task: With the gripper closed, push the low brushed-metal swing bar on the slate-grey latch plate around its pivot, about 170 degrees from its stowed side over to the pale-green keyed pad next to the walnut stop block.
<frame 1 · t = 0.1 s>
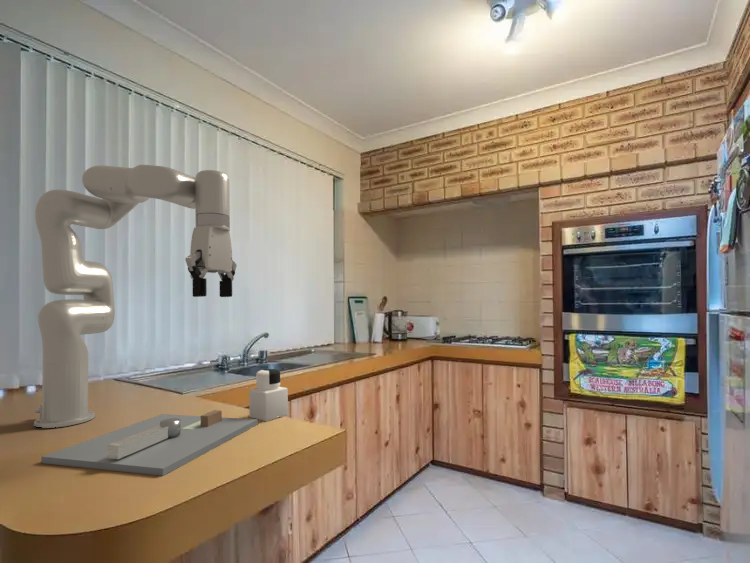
hand: (213, 296, 96), 31 cm above the countertop, tool pointing down, fingers open, 9 cm apart
latch plate: (162, 441, 88), on the countertop
swing bar: (148, 436, 82), point 3 cm above the countertop, hinge at 0.0°
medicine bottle: (268, 417, 106), on the countertop
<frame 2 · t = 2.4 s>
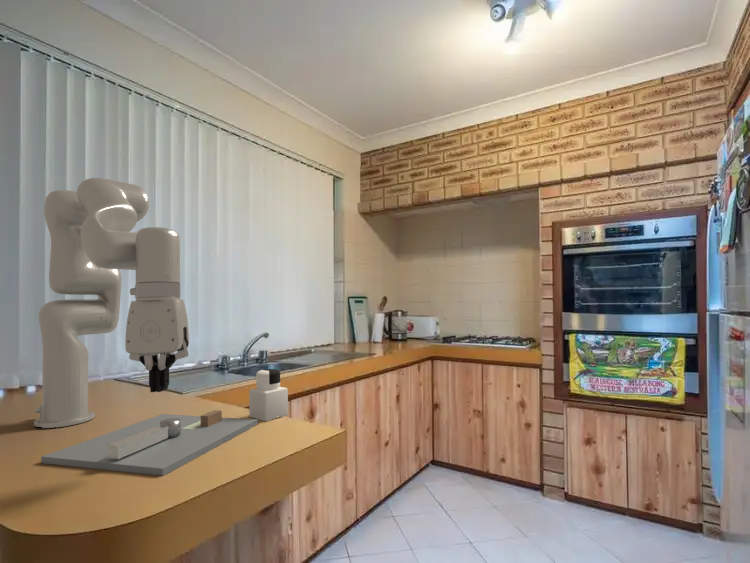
hand: (159, 390, 77), 13 cm above the countertop, tool pointing down, fingers closed
nothing on the countertop moved.
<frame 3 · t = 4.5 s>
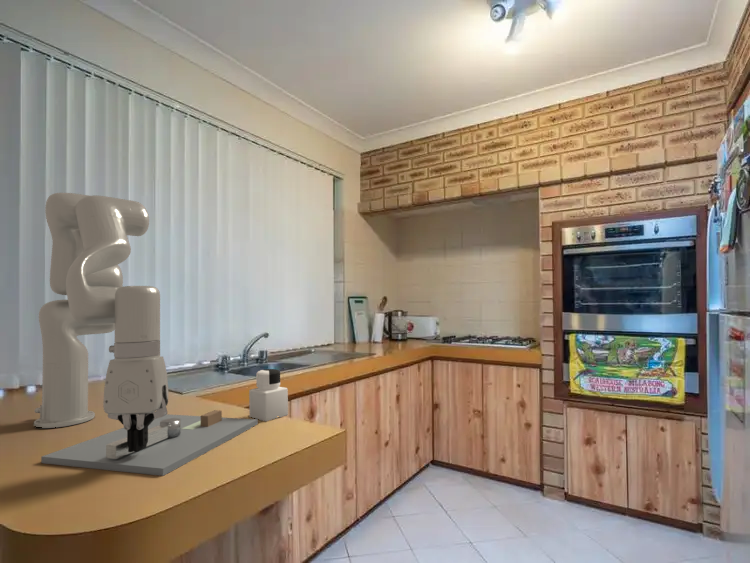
hand: (137, 449, 77), 2 cm above the countertop, tool pointing down, fingers closed
swing bar: (147, 436, 82), point 3 cm above the countertop, hinge at 2.0°, touching gripper
everything else where it was.
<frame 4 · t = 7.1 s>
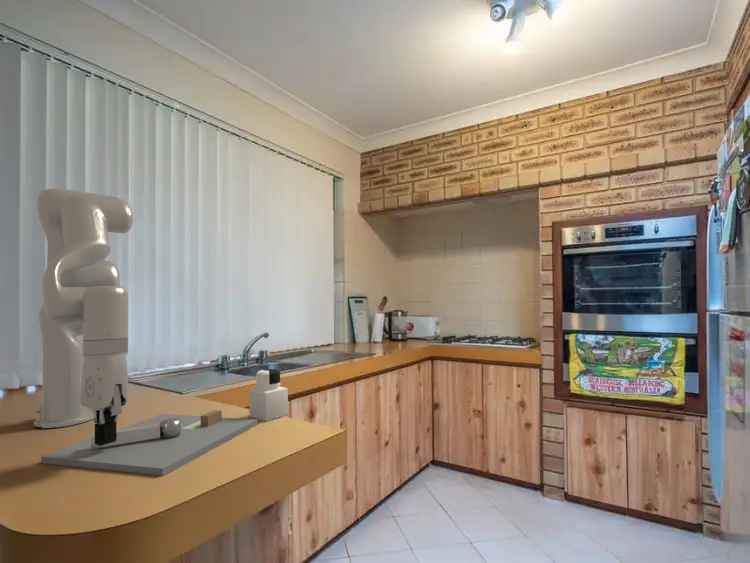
hand: (105, 442, 80), 3 cm above the countertop, tool pointing down, fingers closed
swing bar: (138, 432, 85), point 3 cm above the countertop, hinge at 45.2°, touching gripper
everything else where it was.
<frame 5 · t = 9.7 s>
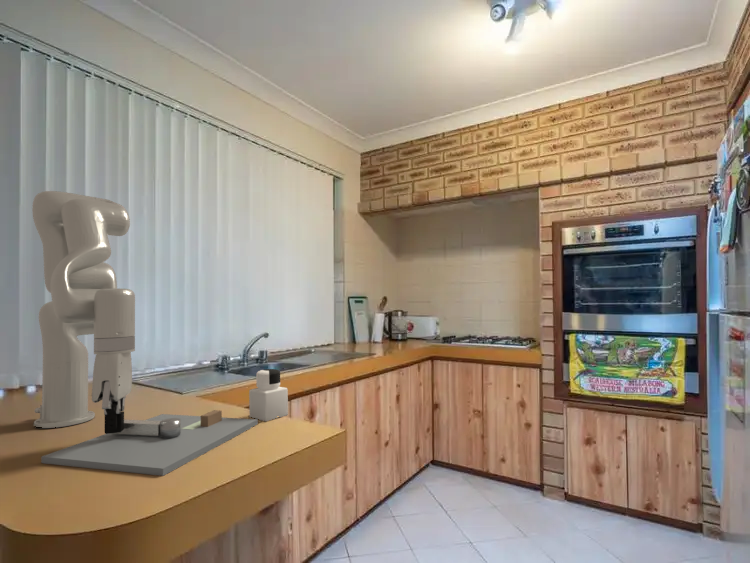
hand: (114, 431, 87), 3 cm above the countertop, tool pointing down, fingers closed
swing bar: (146, 426, 89), point 3 cm above the countertop, hinge at 86.4°, touching gripper
everything else where it was.
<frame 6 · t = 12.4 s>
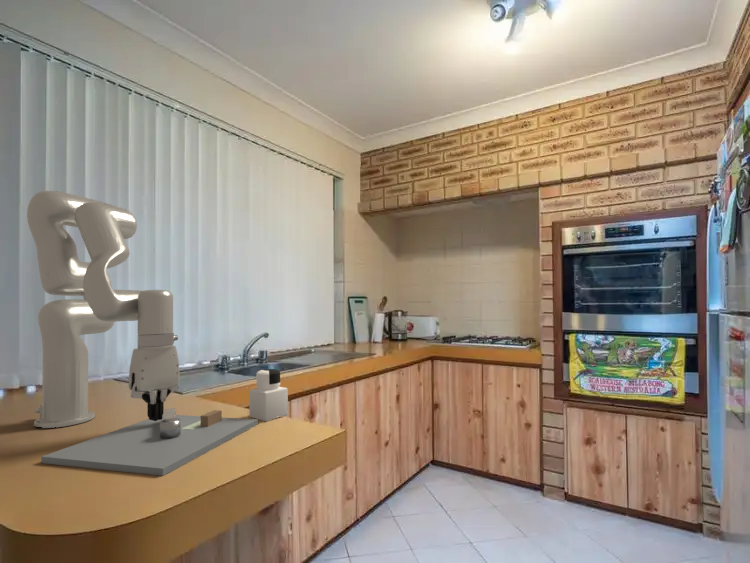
hand: (155, 419, 97), 3 cm above the countertop, tool pointing down, fingers closed
swing bar: (170, 420, 93), point 3 cm above the countertop, hinge at 137.6°, touching gripper
everything else where it was.
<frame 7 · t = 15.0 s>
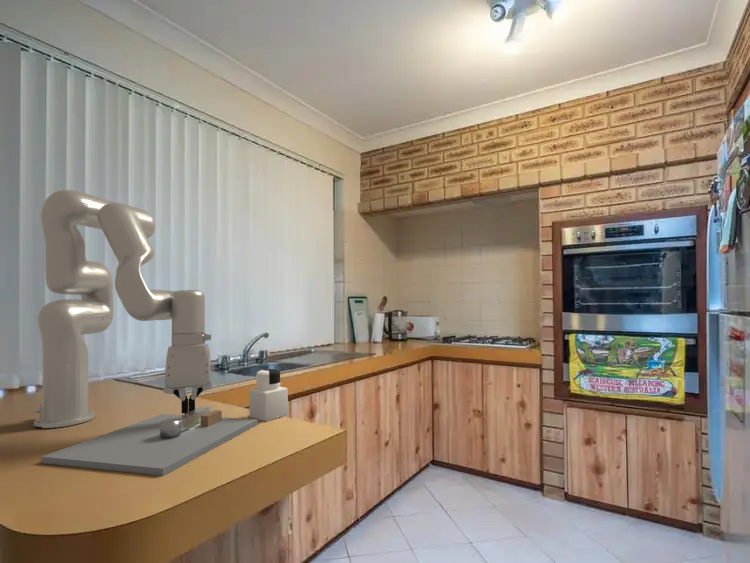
hand: (188, 415, 100), 2 cm above the countertop, tool pointing down, fingers closed
swing bar: (186, 419, 94), point 3 cm above the countertop, hinge at 172.1°, touching gripper
everything else where it was.
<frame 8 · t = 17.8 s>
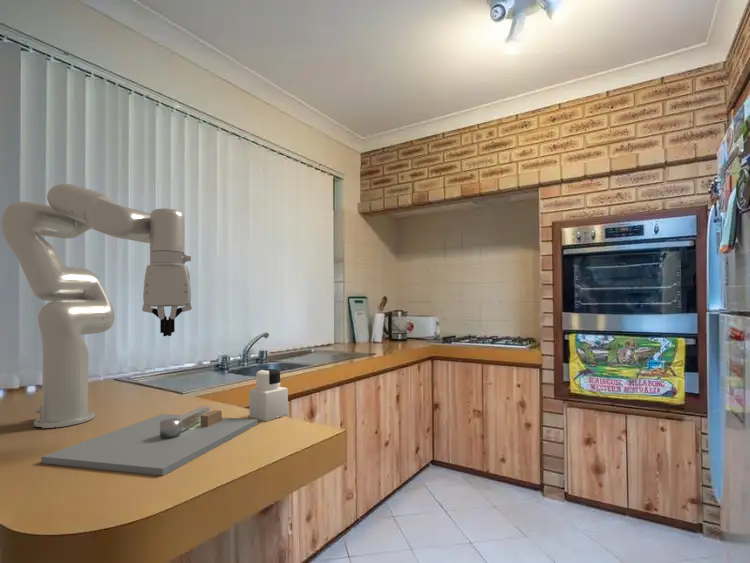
hand: (167, 335, 99), 22 cm above the countertop, tool pointing down, fingers closed
swing bar: (186, 419, 94), point 3 cm above the countertop, hinge at 172.2°
everything else where it was.
at the end: swing bar at +172° (first picture: +0°); the gripper is holding nothing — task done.
